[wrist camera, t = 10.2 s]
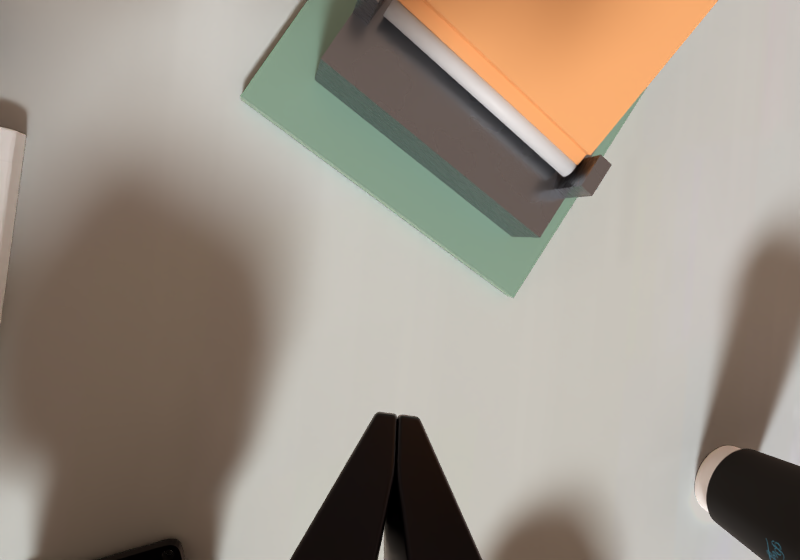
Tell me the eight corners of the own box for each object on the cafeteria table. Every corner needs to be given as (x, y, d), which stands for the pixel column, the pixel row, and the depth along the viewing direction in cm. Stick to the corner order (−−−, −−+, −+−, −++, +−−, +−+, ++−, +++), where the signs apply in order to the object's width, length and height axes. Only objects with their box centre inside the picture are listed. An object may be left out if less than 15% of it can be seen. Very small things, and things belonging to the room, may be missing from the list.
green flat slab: (507, 296, 24) (513, 297, 23) (241, 100, 19) (240, 96, 18) (712, -28, 25) (722, -34, 24) (512, -287, 20) (519, -301, 20)
